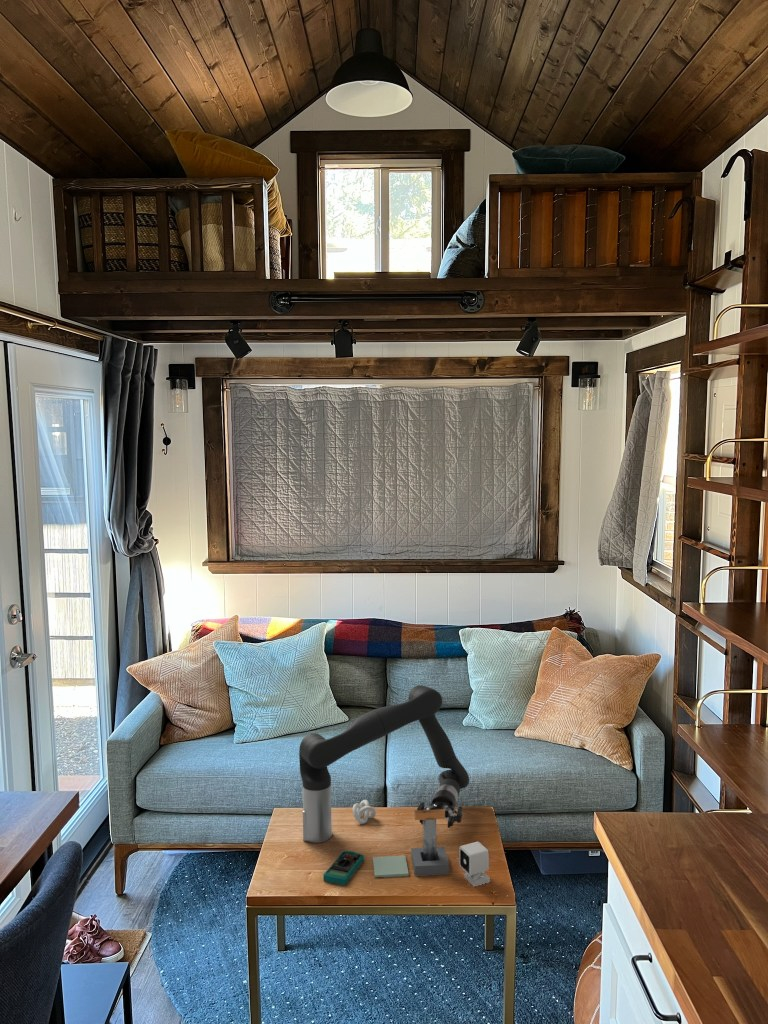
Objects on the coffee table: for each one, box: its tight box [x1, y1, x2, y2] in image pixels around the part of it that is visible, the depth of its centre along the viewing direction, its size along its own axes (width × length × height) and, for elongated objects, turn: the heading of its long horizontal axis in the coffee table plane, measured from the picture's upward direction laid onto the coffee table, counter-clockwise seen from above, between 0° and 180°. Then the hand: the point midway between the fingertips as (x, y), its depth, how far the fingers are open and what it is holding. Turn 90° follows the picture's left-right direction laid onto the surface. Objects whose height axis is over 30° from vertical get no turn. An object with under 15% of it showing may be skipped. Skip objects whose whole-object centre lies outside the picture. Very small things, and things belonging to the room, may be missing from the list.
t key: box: [413, 809, 446, 861], centre depth 225 cm, size 9×4×17 cm, turn 94°
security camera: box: [458, 841, 491, 888], centre depth 218 cm, size 6×7×10 cm
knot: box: [352, 799, 377, 825], centre depth 254 cm, size 8×8×6 cm
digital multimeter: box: [322, 850, 365, 886], centre depth 224 cm, size 7×15×3 cm, turn 159°
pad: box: [372, 855, 410, 879], centre depth 225 cm, size 10×10×1 cm
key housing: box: [410, 846, 450, 877], centre depth 226 cm, size 10×10×3 cm
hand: (435, 823), depth 234 cm, fingers open, 8 cm apart
